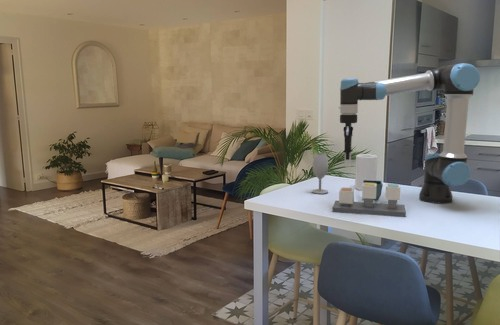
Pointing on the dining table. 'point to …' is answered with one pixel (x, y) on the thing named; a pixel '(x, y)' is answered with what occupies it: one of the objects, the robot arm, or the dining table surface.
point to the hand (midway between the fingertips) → (347, 166)
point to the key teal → (392, 192)
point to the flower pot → (378, 189)
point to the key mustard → (369, 190)
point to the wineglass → (320, 170)
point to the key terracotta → (346, 195)
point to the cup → (365, 169)
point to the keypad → (371, 208)
